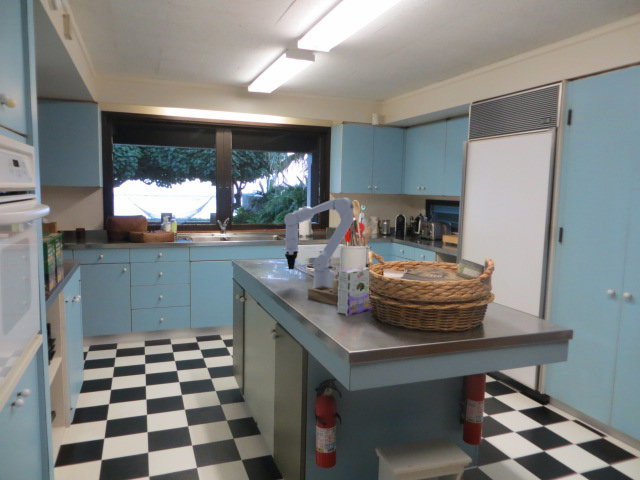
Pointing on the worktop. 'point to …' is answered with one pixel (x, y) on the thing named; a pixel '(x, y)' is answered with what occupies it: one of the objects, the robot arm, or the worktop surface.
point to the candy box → (353, 291)
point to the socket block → (323, 294)
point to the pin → (335, 286)
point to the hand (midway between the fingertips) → (291, 267)
